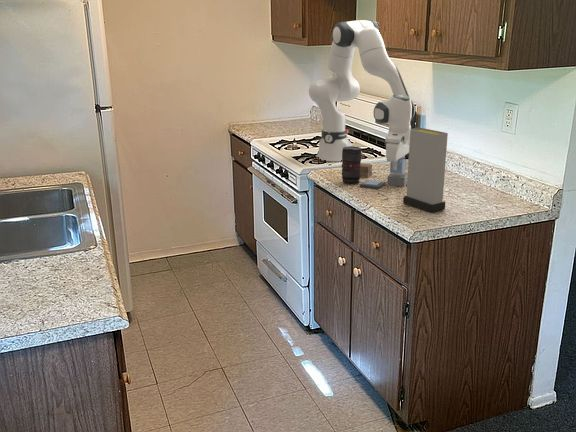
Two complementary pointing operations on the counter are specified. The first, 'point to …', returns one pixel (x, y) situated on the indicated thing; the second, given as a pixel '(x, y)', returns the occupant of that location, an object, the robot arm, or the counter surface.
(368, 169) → the walnut cube
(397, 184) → the riser block
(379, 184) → the tile
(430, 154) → the container
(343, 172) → the camera lens
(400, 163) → the slate blue cube
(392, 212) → the counter surface
